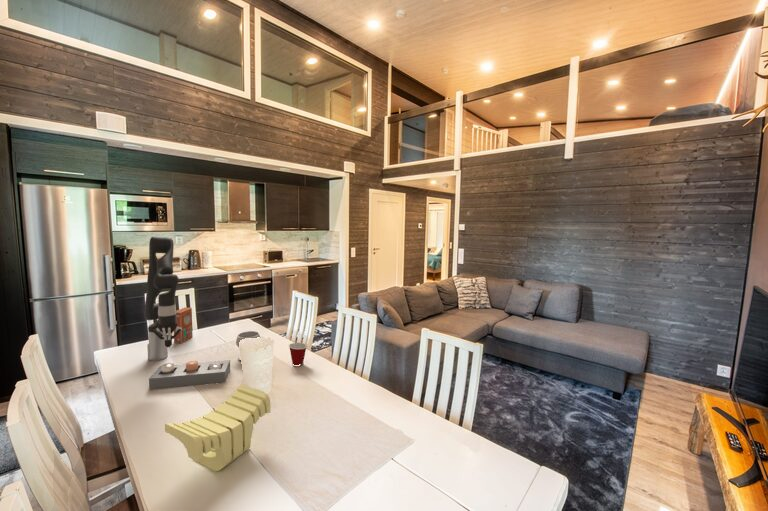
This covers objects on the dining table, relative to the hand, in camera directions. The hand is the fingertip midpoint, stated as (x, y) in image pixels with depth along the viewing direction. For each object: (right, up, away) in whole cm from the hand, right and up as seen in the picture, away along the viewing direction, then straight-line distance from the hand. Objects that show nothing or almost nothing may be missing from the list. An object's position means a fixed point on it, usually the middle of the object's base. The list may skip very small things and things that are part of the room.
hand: (168, 346), depth 168 cm
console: (+10, -19, +4) cm, 22 cm away
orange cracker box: (-29, -12, +61) cm, 68 cm away
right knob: (+20, -17, +7) cm, 28 cm away
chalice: (+27, -17, +33) cm, 46 cm away
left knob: (-1, -15, +1) cm, 15 cm away
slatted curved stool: (+52, -25, -50) cm, 76 cm away
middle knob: (+10, -15, +4) cm, 18 cm away
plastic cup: (+60, -18, +26) cm, 68 cm away
